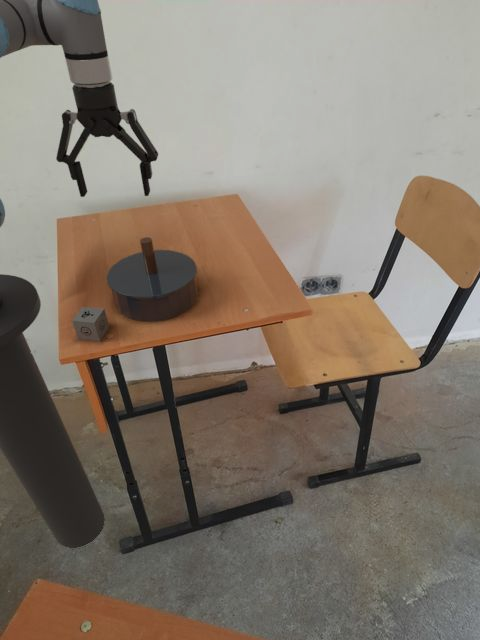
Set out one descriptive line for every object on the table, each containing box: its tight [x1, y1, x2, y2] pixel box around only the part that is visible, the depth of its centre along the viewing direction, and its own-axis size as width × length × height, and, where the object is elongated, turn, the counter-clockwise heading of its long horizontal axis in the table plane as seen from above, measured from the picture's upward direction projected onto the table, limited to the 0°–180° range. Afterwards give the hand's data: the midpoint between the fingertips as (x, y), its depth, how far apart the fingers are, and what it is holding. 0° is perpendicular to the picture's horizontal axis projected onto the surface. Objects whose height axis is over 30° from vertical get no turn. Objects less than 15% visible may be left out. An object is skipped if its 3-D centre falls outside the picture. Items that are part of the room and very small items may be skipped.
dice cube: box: [71, 306, 110, 342], centre depth 101 cm, size 5×5×5 cm
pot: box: [111, 275, 199, 323], centre depth 111 cm, size 19×19×6 cm
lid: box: [106, 236, 198, 299], centre depth 106 cm, size 20×20×9 cm
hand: (115, 194), depth 102 cm, fingers open, 13 cm apart
